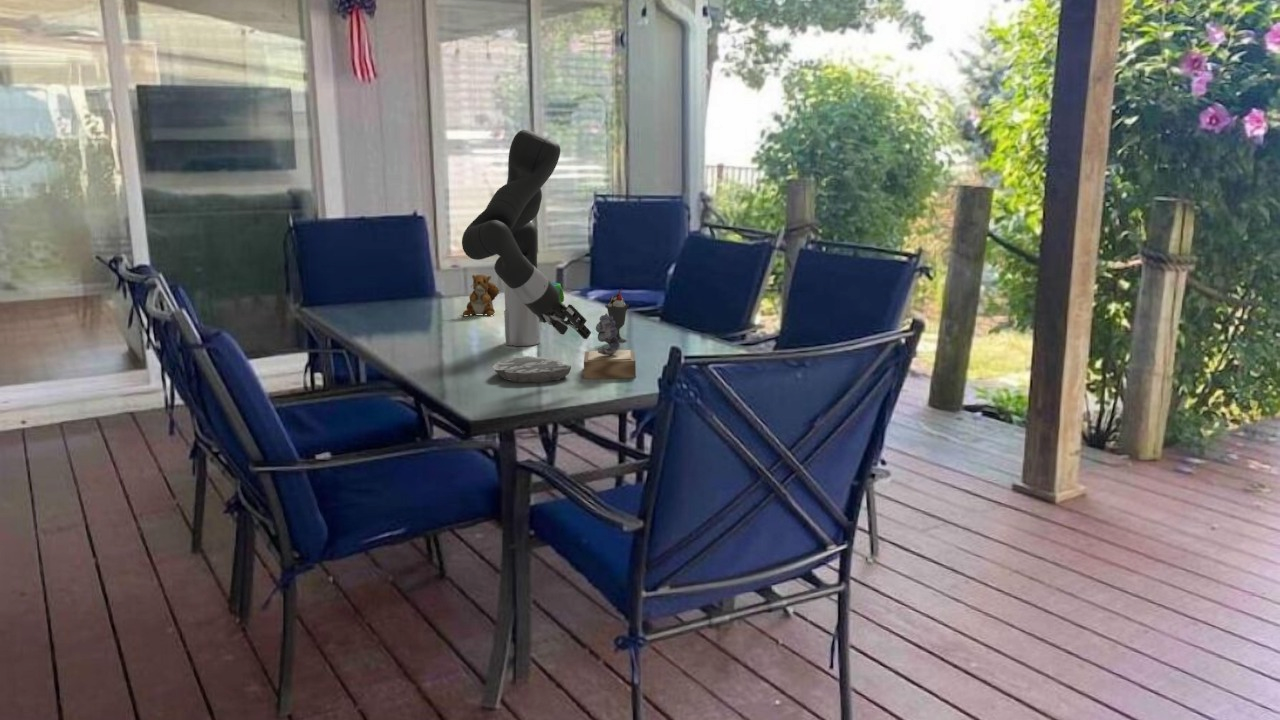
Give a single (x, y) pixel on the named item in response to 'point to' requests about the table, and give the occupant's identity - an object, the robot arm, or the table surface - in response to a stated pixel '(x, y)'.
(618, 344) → the grey figurine
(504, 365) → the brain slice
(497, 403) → the table surface
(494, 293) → the stuffed squirrel
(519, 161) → the robot arm
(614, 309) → the sundae
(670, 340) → the table surface
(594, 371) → the plinth
